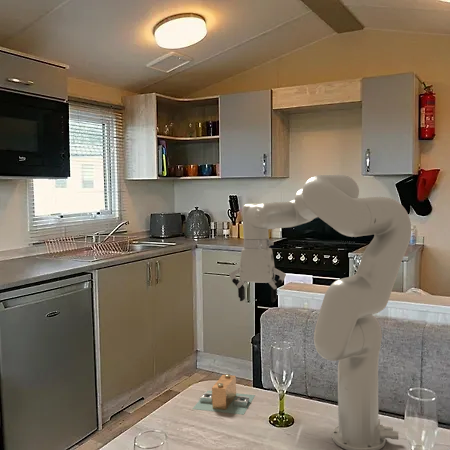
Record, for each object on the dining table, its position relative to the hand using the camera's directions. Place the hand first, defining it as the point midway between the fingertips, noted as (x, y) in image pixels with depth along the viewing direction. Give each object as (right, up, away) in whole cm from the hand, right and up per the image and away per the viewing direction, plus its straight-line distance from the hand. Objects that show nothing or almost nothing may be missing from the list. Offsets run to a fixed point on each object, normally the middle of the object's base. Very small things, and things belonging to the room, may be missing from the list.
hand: (257, 300), depth 150 cm
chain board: (-10, -29, -6) cm, 31 cm away
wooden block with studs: (-10, -28, -6) cm, 31 cm away
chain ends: (-10, -28, -6) cm, 31 cm away
